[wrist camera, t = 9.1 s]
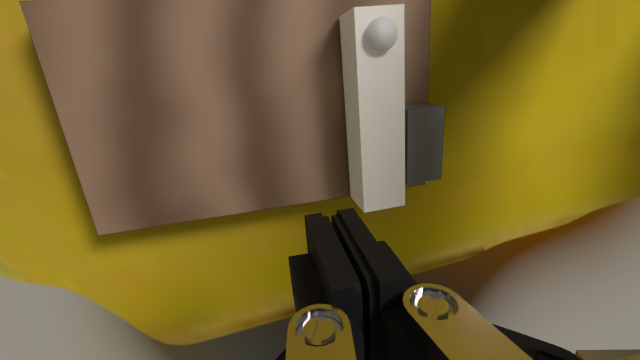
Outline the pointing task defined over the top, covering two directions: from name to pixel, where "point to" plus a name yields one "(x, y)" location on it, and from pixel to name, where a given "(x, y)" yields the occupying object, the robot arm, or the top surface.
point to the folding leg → (375, 104)
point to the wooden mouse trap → (215, 103)
